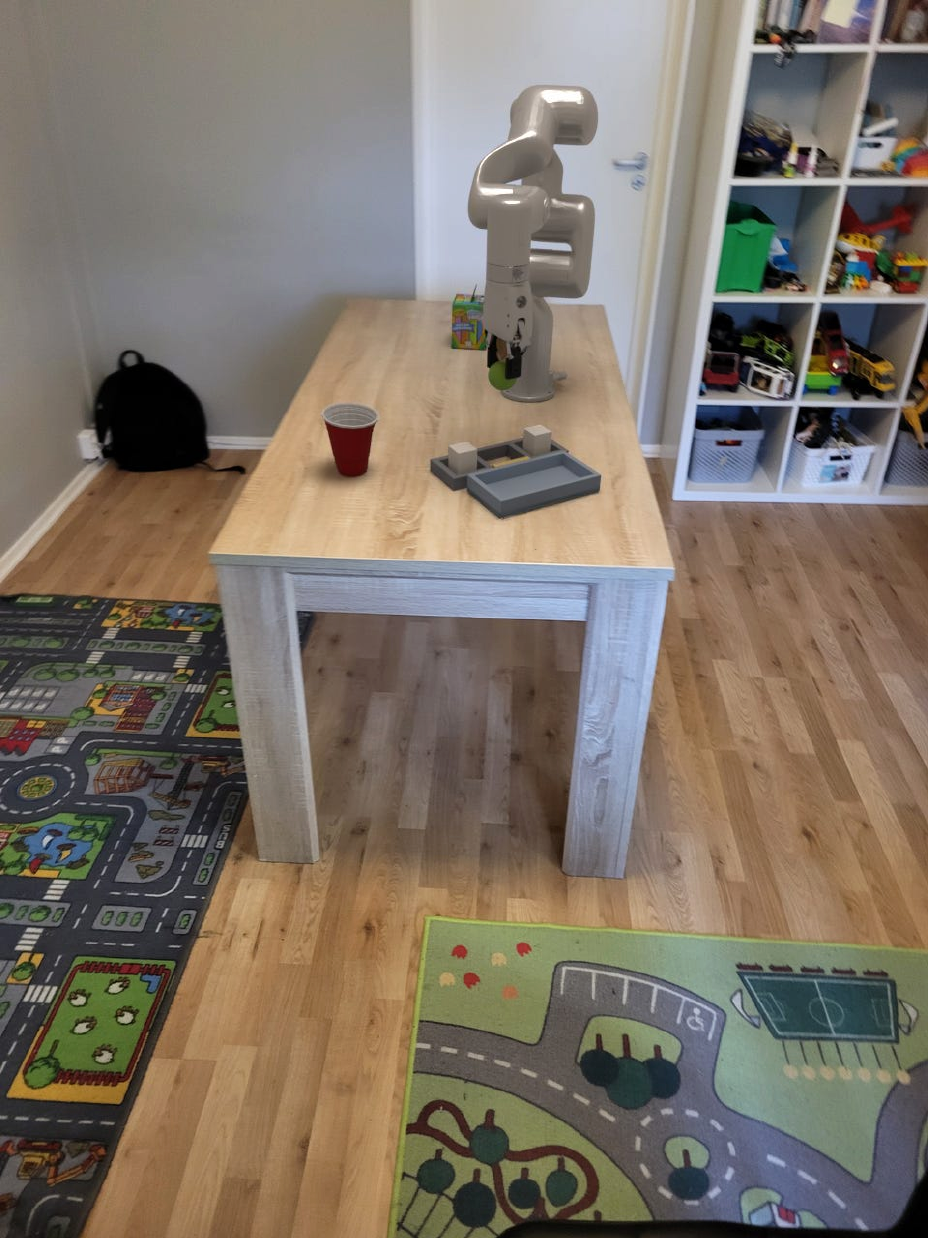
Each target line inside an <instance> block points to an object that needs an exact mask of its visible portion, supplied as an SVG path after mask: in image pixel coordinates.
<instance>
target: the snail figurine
mask: <svg viewBox="0 0 928 1238" xmlns="http://www.w3.org/2000/svg"><path fill="white" fill-rule="evenodd" d="M516 334H517V332H516ZM513 339H514V340H516V337H514V338H513ZM515 344H516V343H514V344H512V346H513V350H514V348H515ZM496 346H497V350H498V351H497V352H496V354H497V358H498V359H499V361H497V362H495V363H494V364H493V365H492V366H491V368H490V369H489V368H488V369H489V370H488V372H487V373H488V376H487V377H488V382H489V383H490V385H491V386H492V387H493V388H494V389H496V390H498V391H500V390H508V389H510V388H511V387H513V386H514V384H515V383H516V381H517V378H514V379H510V380H507V379H505V362H506V358H508V353H507V346H506V341H504V340H502V339H501V338H499V337H497V340H496Z"/></svg>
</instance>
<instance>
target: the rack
mask: <svg viewBox="0 0 928 1238" xmlns="http://www.w3.org/2000/svg"><path fill="white" fill-rule="evenodd" d="M476 449H477V470H474V471H470V472H466V473H462V474H458V475H456V474H455V473H454V472H452V471H451V470H450V469H449V468H448V455H443V456H439V457H435V458H431V459H430V461H429V463H430V465H429V467H430V468H429V470H430V472H431V473H432V474H433V475H435V477H437V478H438V479H439V480H441V481H442V482H443V483H444V484H446V486H447V487H449V488H450V489H451V490H453V492H454V491H459V490H461V489H467V474H471V473H475V472H479V471H483V470H487V469H491V468H495V467H499V466H503V465H507V464H511V463H515V462H519V461H524V460H528V459H532V458H536V457H540V456H544V455H548V454H552V453H556V452H560V451H564V450H565V451H566V452H568V453H569V452H570V451H569V450H568V449H567V448H566V447H564V446H562V445H561V444H560V443H558V442H557V441H555V440H554V439H552V438H551V449H550V452H548V453H544V454H540V455H536V456H531V455H530V454H528V453H527V452H525V451H524V450H523V437H520V438H516V439H512V440H511V439H510V440H507V441H504V442H498V443H495V444H491V445H486V446H481V447H478V448H476ZM569 454H570V453H569ZM504 457H509V458H510V459H509V460H506V461H502V462H497V463H494V464H492V465H491V464H490V463H489V462H488V461H491V460H494V459H495V460H496V459H499V458H504Z"/></svg>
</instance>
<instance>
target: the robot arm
mask: <svg viewBox="0 0 928 1238" xmlns="http://www.w3.org/2000/svg"><path fill="white" fill-rule="evenodd" d="M598 109H599V108H598V105H597V102H596V100H595V97H594V95H593V94H592V92H591V91H590V90H588V89H587V88H585V87H582V86H579V85H578V86H577V85H559V84H558V85H557V84H556V85H554V84H553V85H551V84H536V85H531V86H529V87H526V88H524V89H523V90H522V91H521V93H520V94H519V95H518V96H517V98H516V99H514V100H513V102H512V103H511V105H510V113H509V122H510V128H509V133H508V137H507V140H506V141H504V142H503V143H501V144H499V145H498V146H496V147H495V148H493V150H491V151H490V152H489V153H487V154H486V155H485V156H484V157H483V158H482V160H480V162H479V163H478V164H477V166H476V169H475V171H474V174H473V178H472V181H471V185H470V190H469V194H468V199H467V200H468V201H467V216H468V219H469V222H470V223H471V225H472V226H474V227H475V228H477V229H478V230H487V231H486V263H485V266H486V268H485V272H486V274H485V286H484V293H483V294H484V305H483V318H482V320H481V322H482V325H483V327H484V330H485V335H486V338H487V339H486V345H487V348H486V350H487V352H486V353H487V355H486V367H487V368H488V369H490V368H491V366H492V365H493V364H494V363H495V362H497V361H499V359H498V358H497V354H496V352H497V351H498V350H497V346H496V340H497V337H499V338H501V339H502V340H504V341H506V346H507V353H508V358H506V362H505V379H507V380H510V379H514V378H517V381H516V383H515V384H514V386H513V387H511V388H510V389H508V390H499V391H500V393H501V394H502V396H504V397H506V398H507V399H510V400H513V401H517V402H521V403H522V402H525V403H526V402H527V403H528V402H529V403H536V402H542V401H546V400H549V399H551V398H553V397H554V395H555V394H556V387H555V386H554V384H555V383H556V382H557V381H559V382H560V381H564V380H566V379H567V377H568V374H567V372H566V371H565V370H564V371H563V370H562V371H558V372H556V370H555V369H551V357H552V356H551V355H552V341H553V329H554V315H553V312H552V309H551V307H550V305H549V303H548V302H547V301H546V299H545V298H557V299H580V298H582V297H583V296H585V295H586V294H587V292H588V288H589V284H590V279H591V269H592V258H593V247H594V246H593V245H594V236H595V226H596V225H595V221H596V212H595V211H596V210H595V205H594V202H593V200H592V199H591V198H590V197H588V196H587V195H583V194H574V193H573V194H572V193H571V194H570V193H563V177H564V166H563V165H564V164H563V163H562V160H561V158H560V156H559V155H558V153H557V151H556V150H555V149H554V146H555V145H559V146H560V145H565V146H588V145H590V144H591V143H592V142H593V140H594V138H595V136H596V133H597V130H598V125H599V111H598ZM519 180H521V182H520V184H513V183H512V182H515V181H519ZM510 183H512V184H510ZM532 242H538V243H539V242H541V243H554V244H566V245H569V247H570V249H571V250H563V249H562V250H561V249H552V248H551V249H550V248H548V249H547V248H537V247H536V248H533V247H532V246H531V243H532ZM516 332H517V334H516ZM514 337H516V340H514V339H513V338H514ZM514 343H516V344H515V348H514V350H513V346H512V344H514Z"/></svg>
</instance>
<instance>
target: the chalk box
mask: <svg viewBox="0 0 928 1238" xmlns="http://www.w3.org/2000/svg"><path fill="white" fill-rule="evenodd" d="M477 286H478V285H477V284H475V286H474V289H473V293H472V294H467V293H456V295H455V297H454V300H453V302H452V305H451V306H452V307H451V308H452V309H451V312H452V313H451V349H460V350H461V349H462V350H476V351H486V350H487V348H488V346H487V345H486V339H487V338H486V335H485V330H484V327H483V325H482V322H481V320H482V318H483V305H484V295H482V294H475V293H476V289H477Z"/></svg>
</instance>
